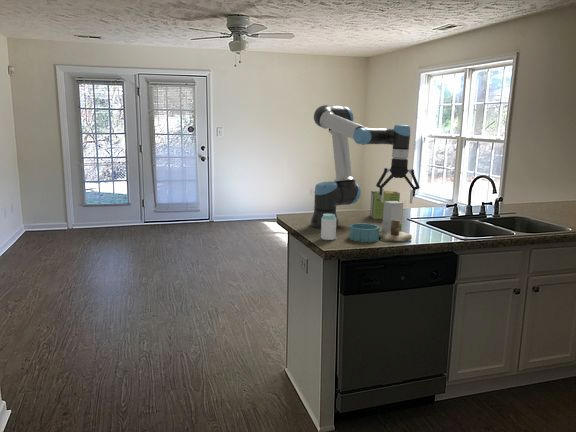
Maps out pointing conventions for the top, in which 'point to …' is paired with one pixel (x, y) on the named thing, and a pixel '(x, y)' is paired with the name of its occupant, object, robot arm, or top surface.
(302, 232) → the top surface
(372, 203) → the protein box
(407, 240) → the mat
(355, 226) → the bowl
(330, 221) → the can
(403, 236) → the lid
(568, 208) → the top surface
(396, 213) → the skincare box
